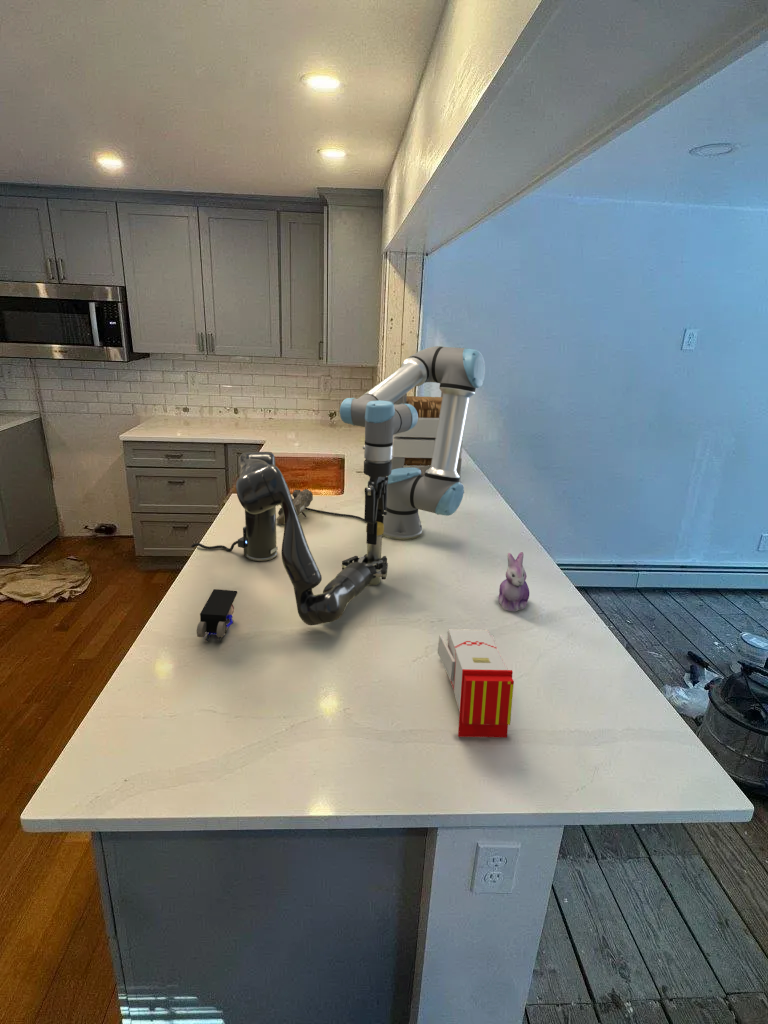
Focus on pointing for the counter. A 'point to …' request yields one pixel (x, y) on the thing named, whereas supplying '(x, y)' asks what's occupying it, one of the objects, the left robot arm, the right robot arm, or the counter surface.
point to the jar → (374, 556)
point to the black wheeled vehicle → (217, 614)
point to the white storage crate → (419, 434)
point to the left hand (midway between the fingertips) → (377, 557)
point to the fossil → (298, 503)
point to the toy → (478, 682)
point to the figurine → (514, 585)
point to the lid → (379, 528)
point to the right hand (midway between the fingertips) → (374, 539)
